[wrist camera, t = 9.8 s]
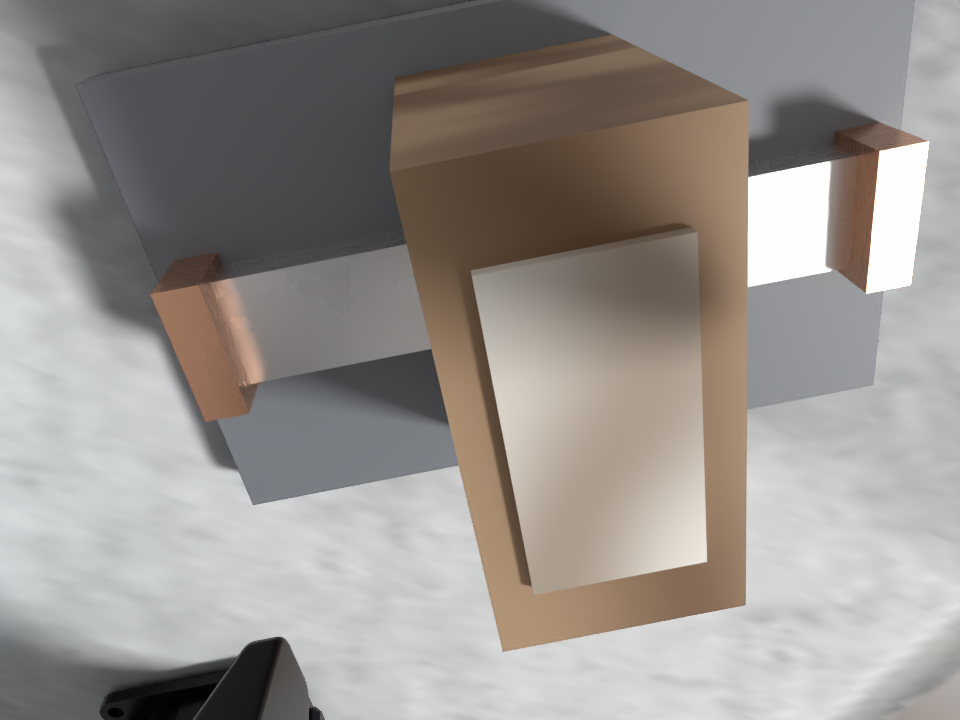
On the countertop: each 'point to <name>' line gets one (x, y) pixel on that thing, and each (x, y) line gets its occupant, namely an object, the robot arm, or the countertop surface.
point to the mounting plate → (373, 207)
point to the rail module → (586, 326)
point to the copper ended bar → (395, 300)
